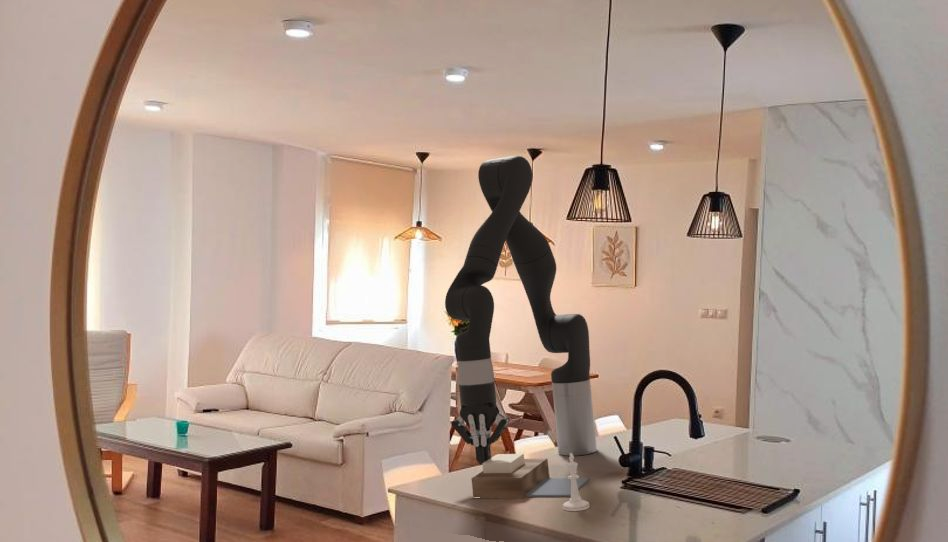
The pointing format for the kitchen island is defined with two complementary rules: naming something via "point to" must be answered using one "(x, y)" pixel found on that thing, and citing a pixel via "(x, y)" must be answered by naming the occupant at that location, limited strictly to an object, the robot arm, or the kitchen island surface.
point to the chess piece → (574, 490)
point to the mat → (555, 487)
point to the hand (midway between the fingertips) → (484, 463)
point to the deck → (511, 480)
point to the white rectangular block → (503, 463)
